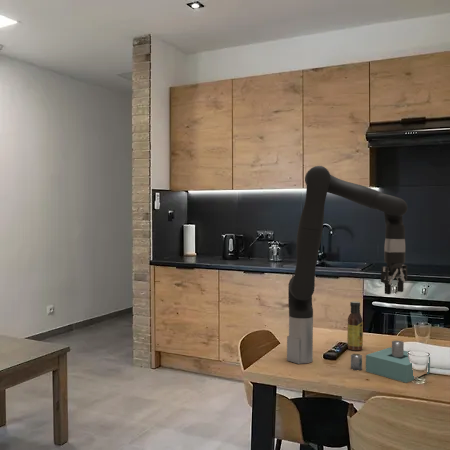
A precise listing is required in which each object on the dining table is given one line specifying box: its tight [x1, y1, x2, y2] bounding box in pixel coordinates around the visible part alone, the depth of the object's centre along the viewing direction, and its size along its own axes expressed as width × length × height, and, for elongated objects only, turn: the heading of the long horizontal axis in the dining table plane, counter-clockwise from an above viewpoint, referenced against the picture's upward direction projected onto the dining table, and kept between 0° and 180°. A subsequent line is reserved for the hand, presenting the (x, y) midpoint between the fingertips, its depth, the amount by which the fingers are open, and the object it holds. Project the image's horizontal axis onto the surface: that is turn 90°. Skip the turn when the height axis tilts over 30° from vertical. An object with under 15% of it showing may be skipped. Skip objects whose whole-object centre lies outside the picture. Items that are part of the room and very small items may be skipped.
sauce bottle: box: [347, 300, 364, 352], centre depth 214 cm, size 7×6×20 cm
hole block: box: [365, 346, 431, 384], centre depth 183 cm, size 16×16×6 cm
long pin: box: [391, 340, 405, 359], centre depth 183 cm, size 4×4×11 cm
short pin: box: [350, 353, 363, 371], centre depth 187 cm, size 4×4×5 cm
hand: (394, 292), depth 194 cm, fingers open, 8 cm apart
